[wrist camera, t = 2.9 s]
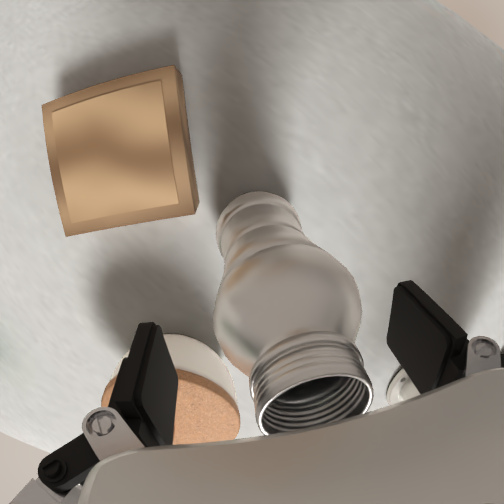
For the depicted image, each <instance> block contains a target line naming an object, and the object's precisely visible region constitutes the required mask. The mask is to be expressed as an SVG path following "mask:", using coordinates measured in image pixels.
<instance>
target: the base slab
mask: <svg viewBox="0 0 504 504" xmlns="http://www.w3.org/2000/svg"><path fill="white" fill-rule="evenodd" d="M42 113H43V123H44V131H45V139H46V146H47V153H48V159H49V165H50V170H51V176H52V181H53V186H54V190H55V195H56V200H57V204H58V208H59V212H60V216H61V220H62V224H63V228H64V232H65V235H66V237H68V236H73V235H78V234H83V233H88V232H93V231H98V230H104V229H109V228H115V227H120V226H126V225H131V224H137V223H143V222H149V221H155V220H161V219H167V218H173V217H180V216H186V215H193V214H195V212H196V210H197V207H198V205H199V197H198V191H197V184H196V178H195V171H194V164H193V157H192V150H191V143H190V136H189V129H188V121H187V113H186V106H185V97H184V89H183V81H182V75H181V73H180V72H179V71H178V69H177V68H176V67H175V65H171V66H166V67H162V68H157V69H152V70H148V71H144V72H140V73H136V74H132V75H128V76H124V77H121V78H117V79H114V80H110V81H107V82H104V83H101V84H97V85H94V86H91V87H88V88H85V89H82V90H79V91H77V92H74V93H71V94H68V95H66V96H63V97H61V98H58V99H55V100H53V101H50V102H48V103H46V104H43V105H42Z"/></svg>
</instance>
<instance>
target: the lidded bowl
mask: <svg viewBox="0 0 504 504" xmlns="http://www.w3.org/2000/svg"><path fill="white" fill-rule="evenodd" d="M163 336H164V339H165V342H166V345H167V347H168V350H169V353H170V356H171V359H172V361H173V364H174V367H175V370H176V372H177V375H178V392H177V401H176V411H175V422H174V434H173V445H175V444H190V443H204V442H215V441H224V440H234V439H235V437H236V436H237V434H238V432H239V429H240V414H239V410H238V405H237V396H236V391H235V387H234V383H233V380H232V377H231V374H230V372H229V370H228V368H227V366H226V365H225V363H224V362H223V361H222V359H221V358H220V357H219V356H218V355H217V354H216V353H215V352H214V351H213V350H212V349H211V348H209V347H208V346H207V345H205V344H204V343H202V342H200V341H198V340H196V339H193V338H191V337H188V336H185V335H179V334H163ZM129 352H130V350H129V351H127V353H126V354H125V355H124V356H123V357H122V359H121V360H120V362H119V363H118V365H117V366H116V368H115V370H114V372H113V374H112V376H111V379H110V382H109V383H108V384H107V386H106V388H105V390H104V393H103V396H102V400H101V407H108V404H109V401H110V397H111V394H112V391H113V388H114V384H115V381H116V378H117V375H118V372H119V369H120V366H121V363H122V360H123V359H124V358H125V357H128V355H129Z"/></svg>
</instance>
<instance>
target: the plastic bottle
mask: <svg viewBox="0 0 504 504" xmlns="http://www.w3.org/2000/svg"><path fill="white" fill-rule="evenodd" d="M216 240H217V244H218V247H219V250H220V252H221V255H222V256H223V258H224V263H225V265H224V274H223V278H222V281H221V284H220V287H219V290H218V293H217V296H216V300H215V306H214V311H213V327H214V332H215V336H216V338H217V340H218V342H219V344H220V346H221V348H222V350H223V352H224V354H225V356H226V357H227V358H228V360H229V361H230V362H231V363H232V364H233V365H234V366H235V367H236V368H238V369H239V370H240V371H241V372H243V373H244V374H245V375H247V376H248V377H249V386H250V393H251V397H252V399H253V401H254V405H255V416H256V422H257V424H258V427H259V429H260V431H261V432H262V433H263V434H264V435H270V434H276V433H282V432H288V431H293V430H298V429H303V428H308V427H312V426H317V425H321V424H326V423H330V422H334V421H338V420H342V419H346V418H349V417H353V416H357V415H360V414H364V413H366V412H367V411H368V409H369V407H370V405H371V403H372V400H373V396H374V395H373V388H372V383H371V381H370V379H369V377H368V375H367V373H366V371H365V369H364V364H363V359H362V356H361V354H360V352H359V350H358V348H357V346H356V345H355V344H354V343H355V340H356V337H357V334H358V331H359V328H360V324H361V318H362V307H361V300H360V295H359V290H358V287H357V284H356V282H355V280H354V277H353V276H352V275H351V273H350V272H349V271H348V269H347V268H346V267H345V266H343V265H342V264H341V263H340V262H339V261H338V260H337V259H336V258H334V257H333V256H332V255H331V254H329V253H327V252H326V251H325V250H323V249H321V248H320V247H318V246H317V245H315V244H314V243H312V242H311V241H310V240H309V239H308V238H307V237H306V236H305V235H304V234H303V232H302V228H301V224H300V220H299V218H298V215H297V213H296V211H295V209H294V208H293V207H292V206H291V204H290V203H289V202H288V201H286V200H285V199H284V198H282V197H280V196H278V195H276V194H272V193H269V192H260V191H256V192H249V193H246V194H243V195H241V196H239V197H237V198H235V199H234V200H233V201H232V202H230V203H229V204H228V206H227V207H226V208H225V209H224V210H223V212H222V213H221V215H220V217H219V219H218V223H217V226H216Z"/></svg>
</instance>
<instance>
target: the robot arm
mask: <svg viewBox="0 0 504 504" xmlns="http://www.w3.org/2000/svg"><path fill="white" fill-rule="evenodd" d="M467 335H468V334H467V333H466V332H465V331H464V330H463V329H462V328H461V327H460V326H459V325H458V324H457V323H456V322H455V321H454V320H453V319H452V318H451V317H450V316H449V315H448V314H447V313H446V312H445V311H444V310H443V309H442V308H441V307H440V306H439V305H438V304H437V303H436V302H434V301H433V300H432V299H431V298H430V297H429V296H428V295H427V294H426V293H425V292H424V291H423V290H422V289H421V288H420V287H419V286H418V285H416V284H415V283H414V282H413V281H412V280H409V281H404V282H400V283H398V285H397V287H395V288H394V293H393V301H392V308H391V315H390V321H389V327H388V333H387V344H388V346H389V348H390V349H391V351H392V352H393V354H394V355H395V357H396V358H397V360H398V361H399V363H400V364H401V366H402V367H403V368H402V369H401V370H400V371H399V372H398V374H397V375H396V376H395V378H394V379H393V381H392V382H391V384H390V386H389V389H388V391H387V401H388V403H389V405H390V406H386V407H383V408H380V409H377V410H374V411H370V412H367V413H364V414H360V415H357V416H353V417H349V418H346V419H342V420H338V421H334V422H330V423H326V424H321V425H317V426H312V427H308V428H303V429H298V430H293V431H288V432H282V433H276V434H270V435H264V436H257V437H250V438H242V439H234V440H224V441H215V442H204V443H190V444H175V445H173V434H174V422H175V411H176V401H177V392H178V375H177V372H176V370H175V367H174V364H173V361H172V359H171V356H170V353H169V350H168V347H167V345H166V342H165V339H164V336H163V333H162V330H161V327H160V325H155V323H154V322H147V323H140V324H139V325H138V328H137V331H136V334H135V337H134V340H133V343H132V346H131V349H130V352H129V355H128V357H125V358H124V359H123V360H122V363H121V366H120V369H119V372H118V375H117V378H116V381H115V384H114V388H113V391H112V394H111V397H110V401H109V404H108V407H100V408H97V409H94V410H92V411H91V412H89V413H88V414H87V415H86V417H85V418H84V420H83V422H82V430H83V434H81V435H80V436H78V437H76V438H75V439H73V440H72V441H70V442H69V443H67V444H65V445H64V446H62V447H61V448H59V449H57V450H56V451H54V452H53V453H51V454H50V455H48V456H46V457H45V458H44V459H43V460H42V461H41V463H40V464H39V467H38V476H39V477H38V478H37V479H36V480H34V479H32V480H31V481H30V482H29V483H28V484H27V485H26V486H25V487H24V488H23V489H22V491H20V493H19V494H18V495H17V496H16V497H15V498H14V499H13V500H12V501H11V502H10V503H9V504H504V355H502V354H500V348H499V346H498V344H497V343H496V342H495V341H494V340H492V339H490V338H488V337H485V336H477V337H474V338H472V339H471V340H470V341H469V340H468V339H467Z"/></svg>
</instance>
